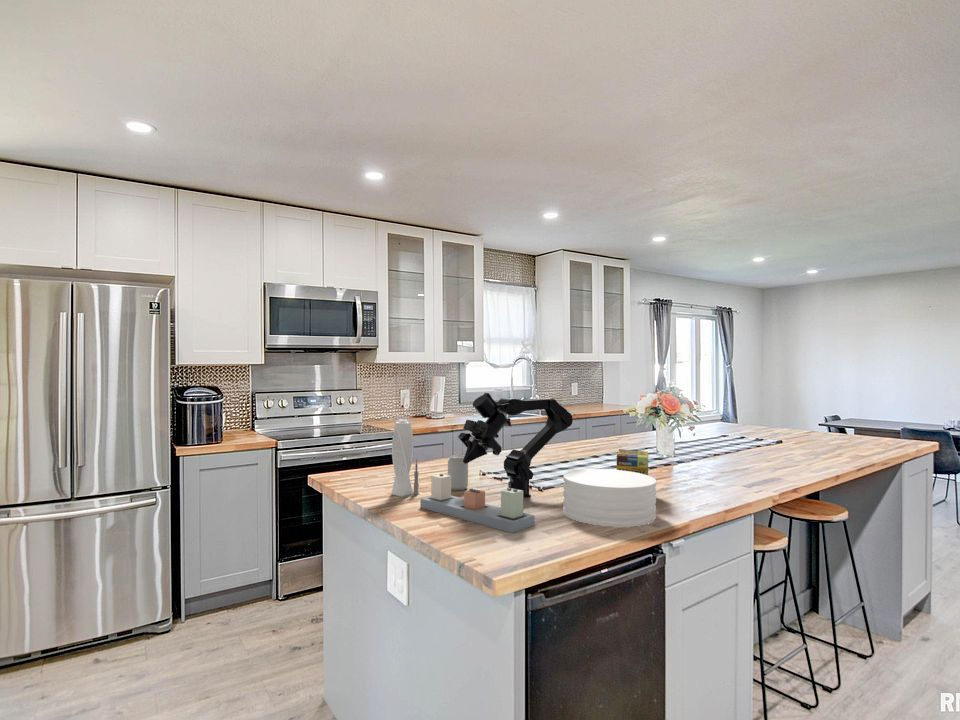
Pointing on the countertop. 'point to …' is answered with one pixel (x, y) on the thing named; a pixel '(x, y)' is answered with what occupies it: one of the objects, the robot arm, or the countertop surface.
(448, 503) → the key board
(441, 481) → the cream block
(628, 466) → the protein box
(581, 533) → the countertop surface
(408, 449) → the skyscraper
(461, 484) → the can
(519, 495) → the green block
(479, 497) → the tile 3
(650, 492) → the plate stack
